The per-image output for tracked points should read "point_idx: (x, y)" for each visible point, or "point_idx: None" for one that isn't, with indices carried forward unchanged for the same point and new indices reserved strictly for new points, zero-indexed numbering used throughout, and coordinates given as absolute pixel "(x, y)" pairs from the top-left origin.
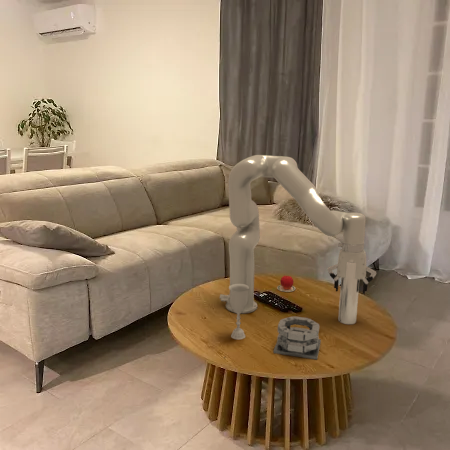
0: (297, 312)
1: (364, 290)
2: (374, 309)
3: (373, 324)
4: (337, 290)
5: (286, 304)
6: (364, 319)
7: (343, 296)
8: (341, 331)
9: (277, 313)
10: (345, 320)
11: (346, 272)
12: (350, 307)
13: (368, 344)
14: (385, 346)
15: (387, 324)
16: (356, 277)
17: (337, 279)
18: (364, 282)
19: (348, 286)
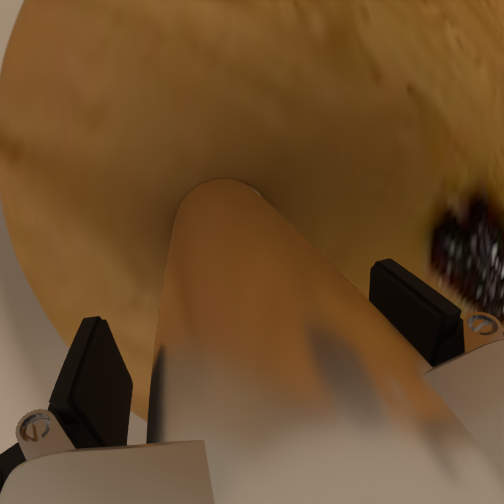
0: (442, 213)
1: (78, 341)
2: (139, 395)
3: (88, 247)
4: (378, 267)
5: (471, 267)
6: (143, 284)
7: (296, 231)
8: (227, 78)
9: (491, 174)
10: (226, 181)
11: (497, 470)
12: (207, 206)
13: (79, 14)
14: (13, 44)
15: (39, 278)
16: (164, 471)
17: (468, 335)
18: (73, 433)
19: (288, 279)
